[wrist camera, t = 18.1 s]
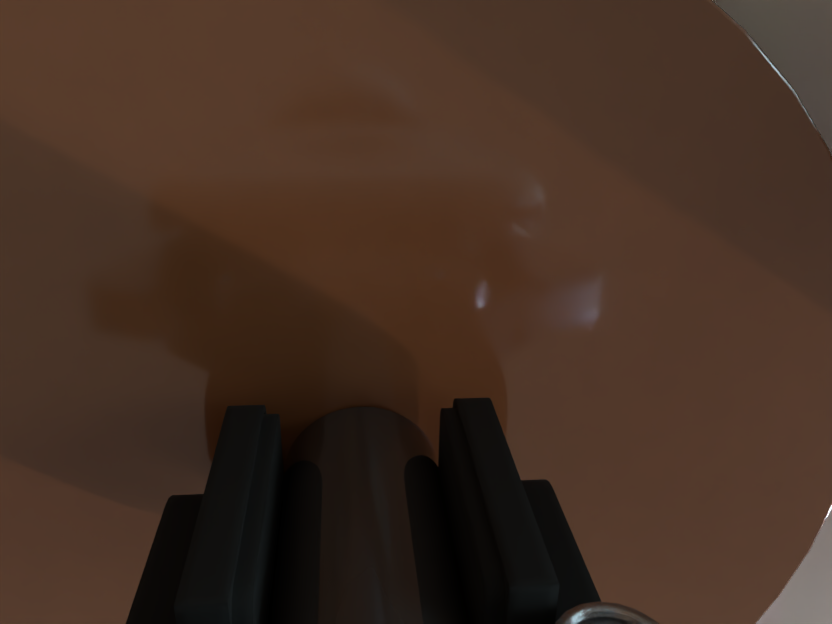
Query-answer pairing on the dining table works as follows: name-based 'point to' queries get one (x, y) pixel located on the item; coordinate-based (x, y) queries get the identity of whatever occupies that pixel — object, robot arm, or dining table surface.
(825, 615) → the dining table surface
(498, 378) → the lid
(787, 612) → the dining table surface
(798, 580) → the dining table surface
